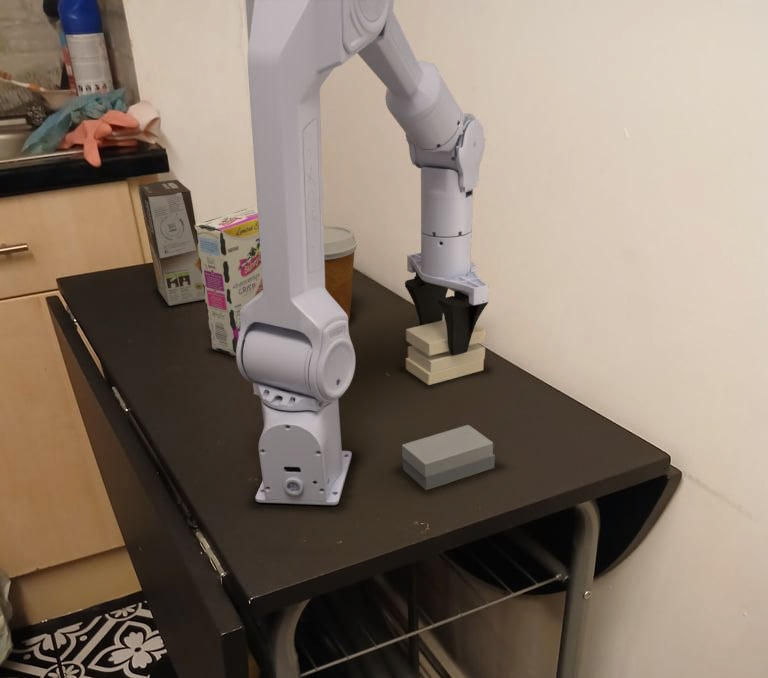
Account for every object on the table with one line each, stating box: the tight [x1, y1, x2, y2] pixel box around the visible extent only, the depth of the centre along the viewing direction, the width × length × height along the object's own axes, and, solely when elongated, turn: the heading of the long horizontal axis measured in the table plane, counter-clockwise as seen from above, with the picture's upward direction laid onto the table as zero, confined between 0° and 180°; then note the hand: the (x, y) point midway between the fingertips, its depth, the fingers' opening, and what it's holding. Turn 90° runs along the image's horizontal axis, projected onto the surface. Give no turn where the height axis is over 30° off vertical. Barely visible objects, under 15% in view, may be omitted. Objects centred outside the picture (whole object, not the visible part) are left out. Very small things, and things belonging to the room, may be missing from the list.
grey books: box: [401, 424, 496, 491], centre depth 78 cm, size 8×4×3 cm, turn 119°
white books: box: [404, 343, 486, 386], centre depth 98 cm, size 8×6×3 cm
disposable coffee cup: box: [323, 225, 358, 322], centre depth 110 cm, size 10×10×12 cm
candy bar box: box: [194, 206, 263, 357], centre depth 104 cm, size 11×5×16 cm, turn 146°
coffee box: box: [137, 179, 205, 307], centre depth 120 cm, size 9×6×16 cm
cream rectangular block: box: [405, 319, 487, 356], centre depth 96 cm, size 8×6×2 cm
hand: (444, 344), depth 97 cm, fingers closed on cream rectangular block, 5 cm apart
